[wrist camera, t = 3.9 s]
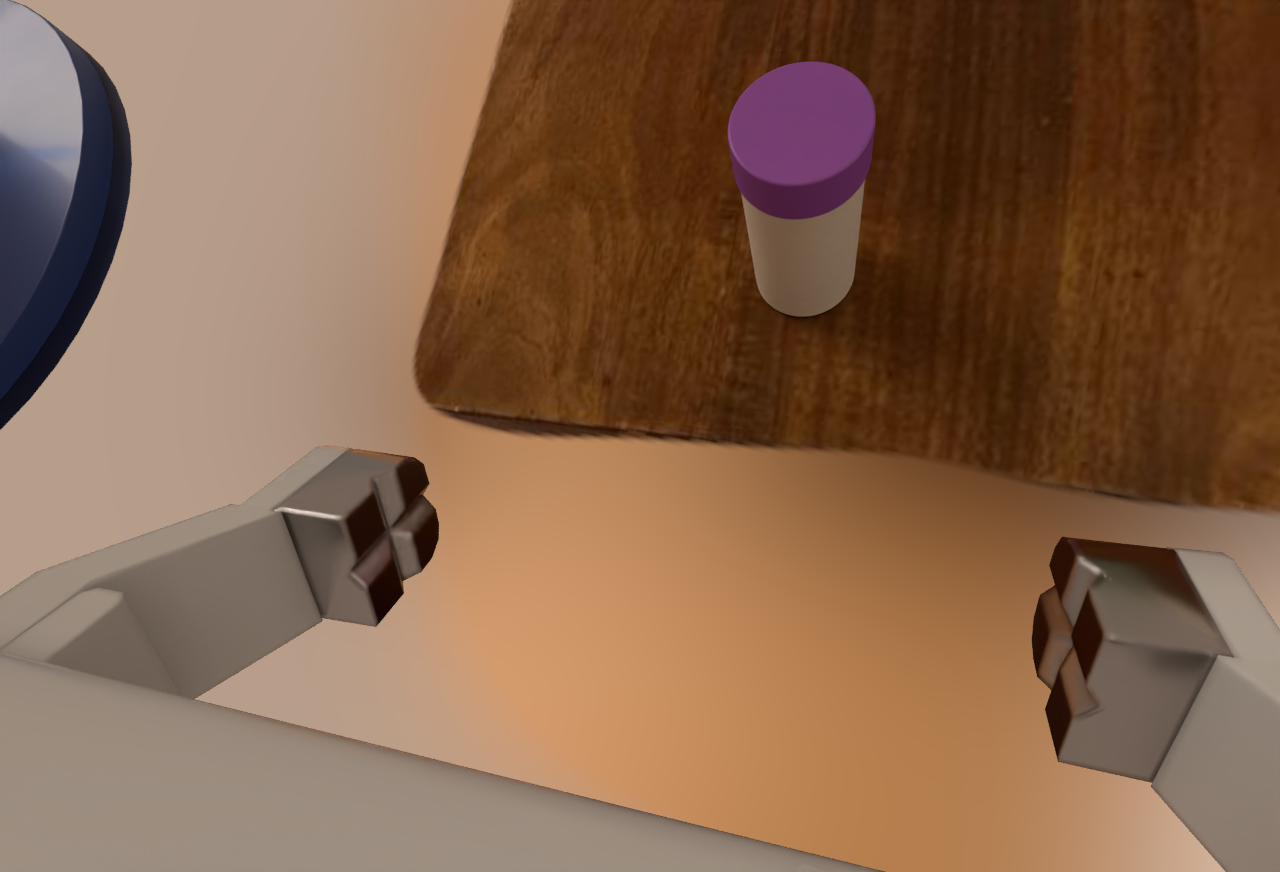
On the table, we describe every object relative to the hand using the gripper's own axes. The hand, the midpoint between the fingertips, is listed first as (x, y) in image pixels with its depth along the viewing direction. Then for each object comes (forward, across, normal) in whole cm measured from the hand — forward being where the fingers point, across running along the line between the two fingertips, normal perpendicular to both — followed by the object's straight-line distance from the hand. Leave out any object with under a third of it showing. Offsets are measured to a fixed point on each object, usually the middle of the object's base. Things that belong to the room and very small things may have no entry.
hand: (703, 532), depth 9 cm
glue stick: (+16, 0, +2) cm, 16 cm away
